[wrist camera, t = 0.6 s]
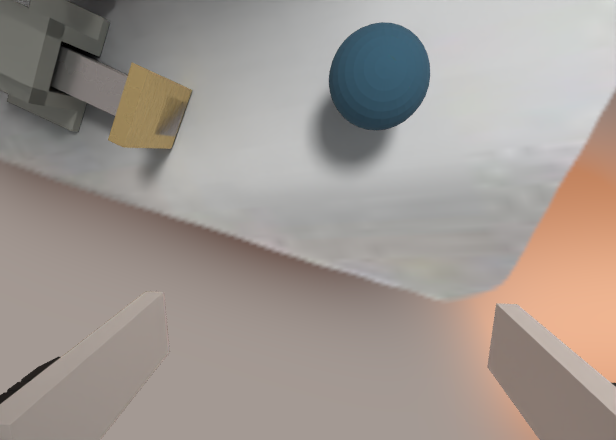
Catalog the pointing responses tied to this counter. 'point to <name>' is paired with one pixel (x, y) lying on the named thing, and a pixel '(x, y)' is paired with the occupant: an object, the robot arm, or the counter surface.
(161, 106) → the shaft
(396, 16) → the counter surface
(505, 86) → the counter surface
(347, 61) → the teal egg
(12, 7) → the housing
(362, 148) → the counter surface
